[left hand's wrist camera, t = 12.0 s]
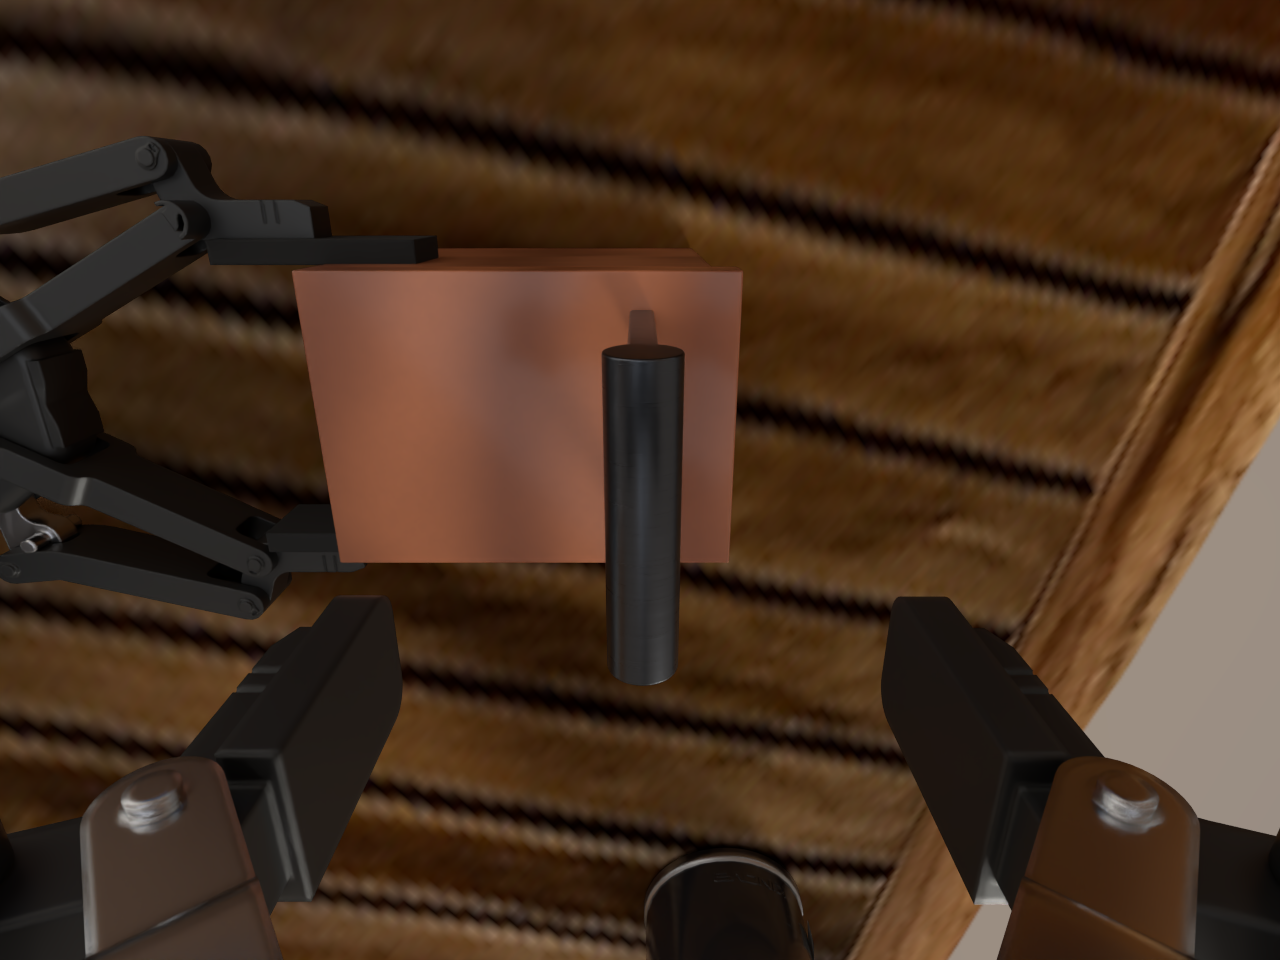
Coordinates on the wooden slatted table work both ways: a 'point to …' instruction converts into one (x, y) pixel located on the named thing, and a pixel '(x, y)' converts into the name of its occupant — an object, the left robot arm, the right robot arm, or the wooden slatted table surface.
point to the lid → (533, 424)
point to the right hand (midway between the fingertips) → (441, 398)
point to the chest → (555, 258)
